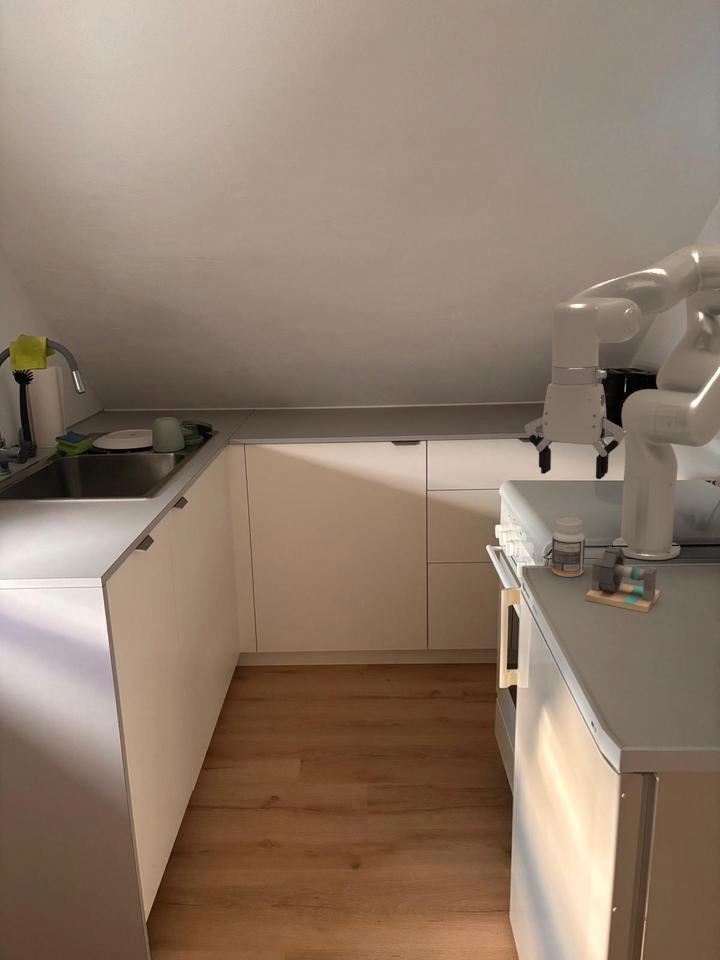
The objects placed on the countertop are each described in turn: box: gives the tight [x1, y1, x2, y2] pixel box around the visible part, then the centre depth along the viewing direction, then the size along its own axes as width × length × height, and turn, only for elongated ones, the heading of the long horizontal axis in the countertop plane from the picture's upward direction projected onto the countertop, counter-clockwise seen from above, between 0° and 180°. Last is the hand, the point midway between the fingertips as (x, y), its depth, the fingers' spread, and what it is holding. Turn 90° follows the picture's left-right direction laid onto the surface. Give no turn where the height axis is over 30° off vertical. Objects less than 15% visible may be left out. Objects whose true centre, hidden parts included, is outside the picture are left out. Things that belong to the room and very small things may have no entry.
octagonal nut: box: [599, 545, 625, 592], centre depth 129 cm, size 7×2×7 cm, turn 146°
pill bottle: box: [551, 516, 586, 578], centre depth 140 cm, size 6×6×10 cm
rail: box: [584, 557, 661, 614], centre depth 129 cm, size 8×10×6 cm
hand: (572, 474), depth 134 cm, fingers open, 9 cm apart
